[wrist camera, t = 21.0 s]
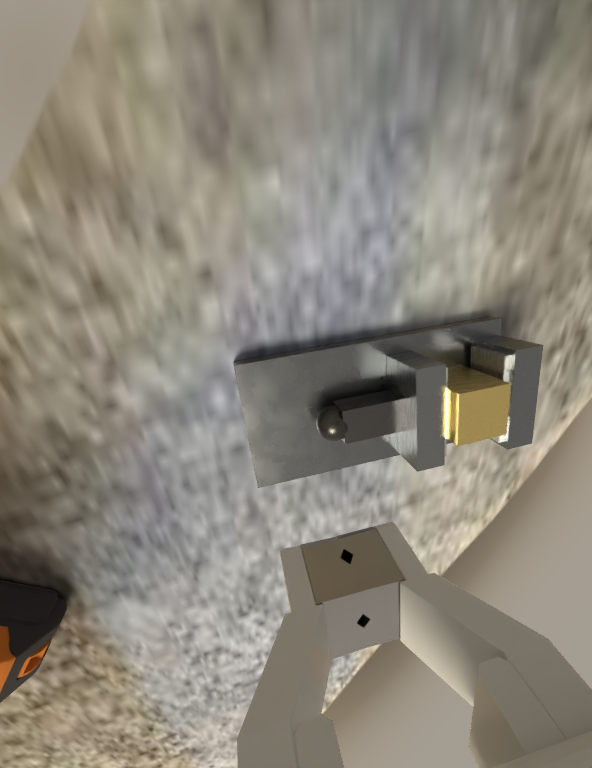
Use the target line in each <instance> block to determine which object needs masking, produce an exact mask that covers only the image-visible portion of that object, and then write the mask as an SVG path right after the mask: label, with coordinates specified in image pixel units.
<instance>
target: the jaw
mask: <svg viewBox="0 0 592 768" xmlns="http://www.w3.org/2000/svg"><path fill="white" fill-rule="evenodd" d="M386 357H387V381H388V390H385V391H380V392H375V393H370V394H365V395H360V396H355V397H350V398H345V399H340V400H335V401H333V405H334V406H328V407H326V408H324V409H323V410H321V411H320V413H319V414H318V416H317V419H316V427H317V430H318V432H319V434H320V435H321V436H322V437H323V438H325V439H327V440H330V441H338V440H341V439H342V440H343V442H344V443H345V444H348V443H353V442H357V441H362V440H366V439H371V438H375V437H380V436H384V435H389V434H390V444H391V445H392V446H393V447H394V448H395V449H396V450H397V451H398V452H399V453H400V454H401V455H402V456H403V457H404V458H405V459H406V460H407V462H408V463H409V464H410V465H411V466H412V467H413V468H414V469H415V470H416V471H417V472H418V471H422V470H426V469H430V468H434V467H438V466H442V465H444V458H445V456H446V439H447V387H448V367H446V364H444V363H442V362H439V361H437V360H434V359H432V358H429V357H427V356H424V355H422V354H419V353H417V352H414V351H408V352H403V353H397V354H392V355H386Z"/></svg>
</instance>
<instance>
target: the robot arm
mask: <svg viewBox="0 0 592 768" xmlns="http://www.w3.org/2000/svg"><path fill="white" fill-rule="evenodd" d="M280 553H281V560H282V566H283V571H284V577H285V583H286V588H287V594H288V600H289V605H290V610H291V613H288V614H285V616H284V619H283V621H282V624H281V627H280V629H279V632H278V634H277V637H276V640H275V642H274V645H273V647H272V650H271V653H270V655H269V658H268V660H267V663H266V665H265V668H264V671H263V673H262V676H261V678H260V681H259V684H258V686H257V689H256V691H255V694H254V697H253V699H252V702H251V704H250V707H249V709H248V712H247V715H246V717H245V720H244V722H243V725H242V728H241V730H240V733H239V735H238V738H237V751H238V768H344V765H343V761H342V758H341V753H340V749H339V745H338V741H337V737H336V733H335V729H334V724H333V721H332V720H331V719H329V718H328V717H326V716H325V715H323V714H321V712H322V707H323V701H324V696H325V691H326V686H327V681H328V676H329V671H330V665H331V659H334V658H337V657H340V656H343V655H346V654H349V653H352V652H355V651H358V650H361V649H364V648H367V647H371V646H374V645H378V644H382V643H386V642H389V641H393V640H397V639H400V638H401V642H403V643H404V644H405V645H406V646H407V647H408V648H409V649H410V650H411V651H412V652H414V653H415V654H416V655H417V656H418V657H419V658H420V659H421V660H422V661H423V662H424V663H425V664H427V665H428V666H429V667H430V668H431V669H432V670H433V671H434V672H435V673H436V674H438V675H439V676H440V677H441V678H442V679H443V680H444V681H445V682H446V683H447V684H449V685H450V686H451V687H452V688H453V689H454V690H455V691H456V692H457V693H458V694H459V695H461V696H462V697H463V698H464V699H465V700H466V701H467V702H468V703H469V704H471V705H472V706H473V715H472V723H471V731H470V738H469V748H470V750H471V752H472V754H473V756H474V758H475V760H476V762H477V764H478V766H479V768H592V690H591V688H590V687H589V686H588V685H587V684H586V683H585V681H584V680H583V679H582V678H581V677H580V676H579V674H578V673H577V672H576V671H575V670H574V669H573V667H572V666H571V665H570V664H569V663H568V662H567V661H566V659H565V658H564V657H563V656H562V655H561V653H560V652H559V651H558V650H557V649H556V648H555V647H554V645H553V644H552V643H551V642H550V641H549V639H547V638H546V637H544V636H542V635H541V634H539V633H537V632H535V631H534V630H532V629H530V628H528V627H527V626H525V625H523V624H522V623H520V622H518V621H516V620H515V619H513V618H511V617H510V616H508V615H506V614H504V613H503V612H501V611H499V610H498V609H496V608H494V607H492V606H490V605H489V604H487V603H485V602H484V601H482V600H480V599H479V598H477V597H475V596H473V595H471V594H470V593H468V592H466V591H465V590H463V589H461V588H459V587H458V586H456V585H454V584H453V583H451V582H449V581H447V580H446V579H444V578H442V577H441V576H439V575H437V574H435V573H431V574H428V573H427V572H426V570H425V568H424V567H423V565H422V564H421V562H420V561H419V559H418V558H417V556H416V555H415V553H414V552H413V550H412V549H411V547H410V546H409V544H408V543H407V541H406V540H405V538H404V537H403V535H402V534H401V532H400V531H399V529H398V528H397V526H396V525H395V524H394V523H393V522H390V523H386V524H382V525H378V526H374V527H370V528H366V529H362V530H359V531H355V532H351V533H347V534H343V535H340V536H337V537H333V538H329V539H324V540H320V541H315V542H311V543H306V544H302V545H300V546H295V547H290V548H286V549H281V550H280Z"/></svg>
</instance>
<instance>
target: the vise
mask: <svg viewBox="0 0 592 768" xmlns="http://www.w3.org/2000/svg"><path fill="white" fill-rule="evenodd" d="M501 327H502V318H497V317H491V316H490V317H484V318H479V319H473V320H467V321H462V322H456V323H450V324H444V325H439V326H433V327H427V328H422V329H416V330H410V331H405V332H399V333H393V334H387V335H382V336H376V337H370V338H365V339H359V340H353V341H348V342H342V343H336V344H330V345H325V346H319V347H313V348H308V349H302V350H296V351H291V352H285V353H279V354H273V355H268V356H262V357H256V358H251V359H245V360H239V361H234V369H235V374H236V379H237V384H238V389H239V394H240V399H241V404H242V409H243V414H244V419H245V424H246V429H247V434H248V439H249V445H250V450H251V455H252V460H253V465H254V470H255V475H256V480H257V485H258V488H260V487H264V486H268V485H273V484H277V483H281V482H286V481H290V480H294V479H298V478H303V477H307V476H311V475H316V474H320V473H324V472H328V471H333V470H337V469H341V468H346V467H350V466H354V465H358V464H363V463H367V462H371V461H376V460H380V459H384V458H388V457H393V456H397V455H401V454H400V453H399V452H398V451H397V450H396V449H395V448H394V447H393V446H392V445H391V444H390V434H389V435H384V436H380V437H375V438H371V439H366V440H362V441H357V442H353V443H348V444H345V443H344V442H343V440H342V439H341V440H338V441H330V440H327V439H325V438H323V437H322V436H321V435H320V434H319V432H318V430H317V427H316V419H317V416H318V414H319V413H320V411H321V410H323V409H324V408H326V407H328V406H334V405H333V401H335V400H340V399H345V398H350V397H355V396H360V395H365V394H370V393H375V392H380V391H385V390H388V381H387V357H386V355H392V354H397V353H403V352H408V351H414V352H417V353H419V354H422V355H424V356H427V357H429V358H432V359H434V360H437V361H439V362H442V363H444V364H446V367H452V366H457V365H463V366H466V367H468V368H471V369H474V370H476V371H479V372H482V373H484V374H487V375H490V376H492V377H495V378H498V379H500V380H503V381H506V382H508V383H511V388H510V400H509V412H508V424H507V434H506V435H502V436H498V437H494V438H490V439H491V440H493V441H494V442H496V443H498V444H499V445H501V446H503V447H504V448H506V449H511V448H515V447H519V446H523V445H527V444H531V443H532V438H533V429H534V421H535V412H536V403H537V394H538V385H539V376H540V368H541V359H542V350H543V345H540V344H536V343H531V342H526V341H522V340H517V339H513V338H508V337H503V336H501ZM448 443H453V442H451V441H450V440H449V439H446V444H448Z"/></svg>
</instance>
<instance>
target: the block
mask: <svg viewBox="0 0 592 768" xmlns="http://www.w3.org/2000/svg"><path fill="white" fill-rule="evenodd" d="M510 388H511V383H508V382H506V381H503V380H500V379H498V378H495V377H492V376H490V375H487V374H484V373H482V372H479V371H476V370H474V369H471V368H468V367H466V366H463V365H457V366H452V367H448V387H447V439H449V440H450V441H451V442H453V443H454V444H456V445H457V446H460V445H464V444H468V443H472V442H477V441H481V440H485V439H489V438H494V437H498V436H502V435H506V434H507V424H508V412H509V400H510Z"/></svg>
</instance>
